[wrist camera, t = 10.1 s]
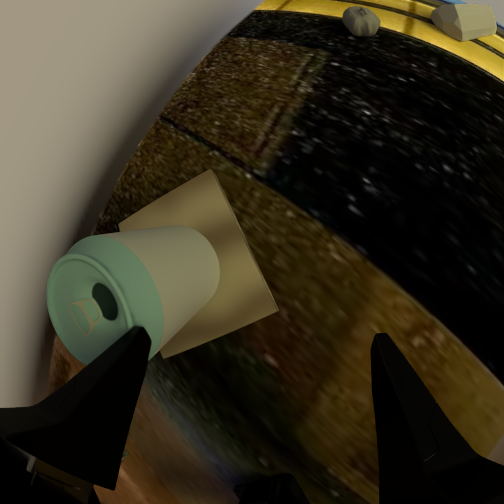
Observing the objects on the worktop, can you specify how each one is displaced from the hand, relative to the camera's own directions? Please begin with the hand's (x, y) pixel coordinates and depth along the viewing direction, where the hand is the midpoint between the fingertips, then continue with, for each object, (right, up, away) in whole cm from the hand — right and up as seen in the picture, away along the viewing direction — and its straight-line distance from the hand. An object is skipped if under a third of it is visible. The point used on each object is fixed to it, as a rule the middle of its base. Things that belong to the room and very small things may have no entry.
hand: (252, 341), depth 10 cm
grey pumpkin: (+16, +35, +18) cm, 42 cm away
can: (-6, +2, +13) cm, 14 cm away
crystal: (+42, +47, +15) cm, 65 cm away
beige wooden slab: (-5, +2, +16) cm, 17 cm away
